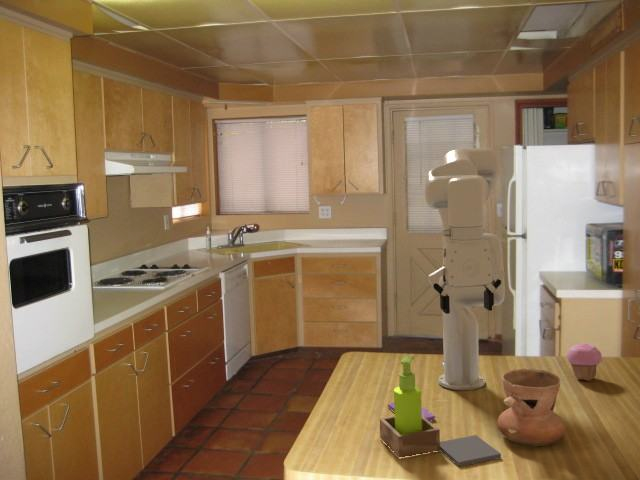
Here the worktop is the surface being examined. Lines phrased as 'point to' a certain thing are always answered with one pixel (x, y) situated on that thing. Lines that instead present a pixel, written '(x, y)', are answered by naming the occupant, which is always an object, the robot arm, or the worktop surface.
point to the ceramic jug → (531, 407)
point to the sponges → (424, 412)
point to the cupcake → (584, 360)
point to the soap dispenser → (407, 401)
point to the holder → (410, 438)
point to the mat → (468, 450)
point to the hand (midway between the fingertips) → (467, 310)
